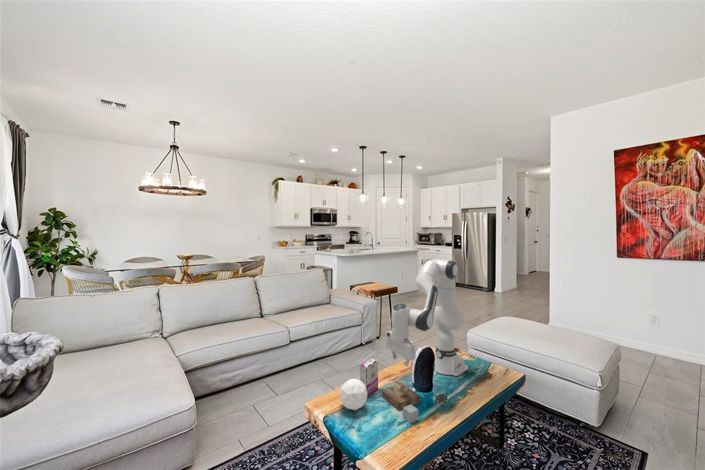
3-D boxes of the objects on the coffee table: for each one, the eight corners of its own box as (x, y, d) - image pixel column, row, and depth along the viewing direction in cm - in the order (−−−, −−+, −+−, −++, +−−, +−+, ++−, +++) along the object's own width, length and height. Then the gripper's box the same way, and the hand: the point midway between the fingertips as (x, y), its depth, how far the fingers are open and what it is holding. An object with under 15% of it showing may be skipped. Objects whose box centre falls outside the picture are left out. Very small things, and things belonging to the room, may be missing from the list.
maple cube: (401, 389, 161) (401, 380, 160) (407, 394, 156) (406, 384, 156) (393, 392, 158) (393, 382, 158) (399, 396, 154) (399, 387, 154)
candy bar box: (370, 385, 171) (370, 357, 171) (378, 388, 168) (378, 359, 168) (359, 394, 162) (359, 364, 162) (367, 397, 159) (366, 367, 159)
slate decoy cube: (411, 414, 145) (411, 404, 145) (418, 420, 140) (418, 409, 140) (403, 417, 142) (403, 407, 142) (410, 423, 138) (410, 413, 138)
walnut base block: (402, 390, 167) (402, 383, 167) (419, 403, 155) (419, 395, 155) (381, 397, 160) (381, 390, 160) (398, 411, 148) (398, 403, 148)
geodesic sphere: (371, 416, 143) (371, 386, 143) (342, 420, 141) (341, 390, 141) (364, 399, 158) (364, 372, 158) (337, 402, 156) (337, 374, 155)
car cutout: (437, 406, 152) (437, 397, 152) (432, 399, 158) (432, 390, 158) (465, 404, 153) (465, 395, 153) (459, 397, 160) (459, 389, 160)
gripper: (418, 341, 149) (418, 368, 150) (393, 329, 167) (393, 353, 167) (408, 343, 146) (409, 371, 146) (384, 331, 164) (384, 356, 164)
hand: (400, 362), depth 157 cm, fingers open, 8 cm apart
